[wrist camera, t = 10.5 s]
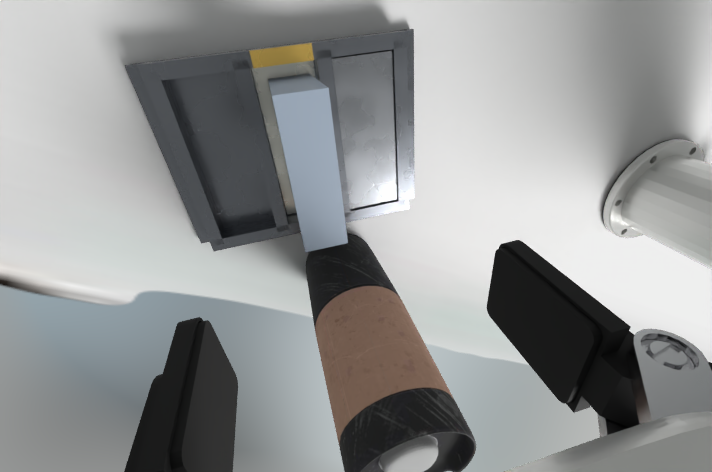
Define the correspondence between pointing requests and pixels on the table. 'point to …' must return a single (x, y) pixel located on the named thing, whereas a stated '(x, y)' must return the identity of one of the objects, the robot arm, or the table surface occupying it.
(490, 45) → the table surface
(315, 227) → the panel
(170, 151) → the rack
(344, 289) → the travel mug
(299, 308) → the table surface
